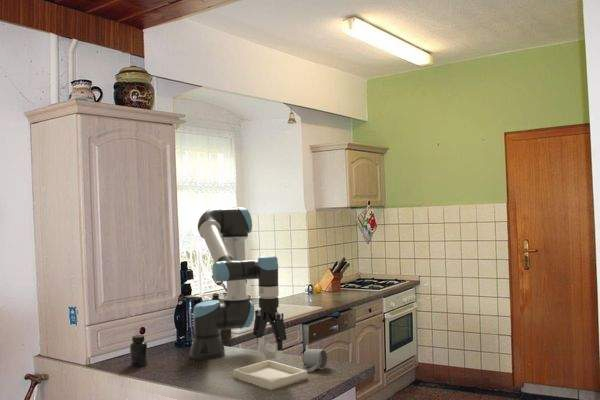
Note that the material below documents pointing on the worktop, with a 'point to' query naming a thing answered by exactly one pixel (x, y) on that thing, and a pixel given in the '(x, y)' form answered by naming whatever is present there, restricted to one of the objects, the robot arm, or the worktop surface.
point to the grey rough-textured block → (269, 351)
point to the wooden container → (223, 333)
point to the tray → (270, 374)
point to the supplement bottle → (138, 351)
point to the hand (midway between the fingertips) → (269, 356)
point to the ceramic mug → (314, 359)
